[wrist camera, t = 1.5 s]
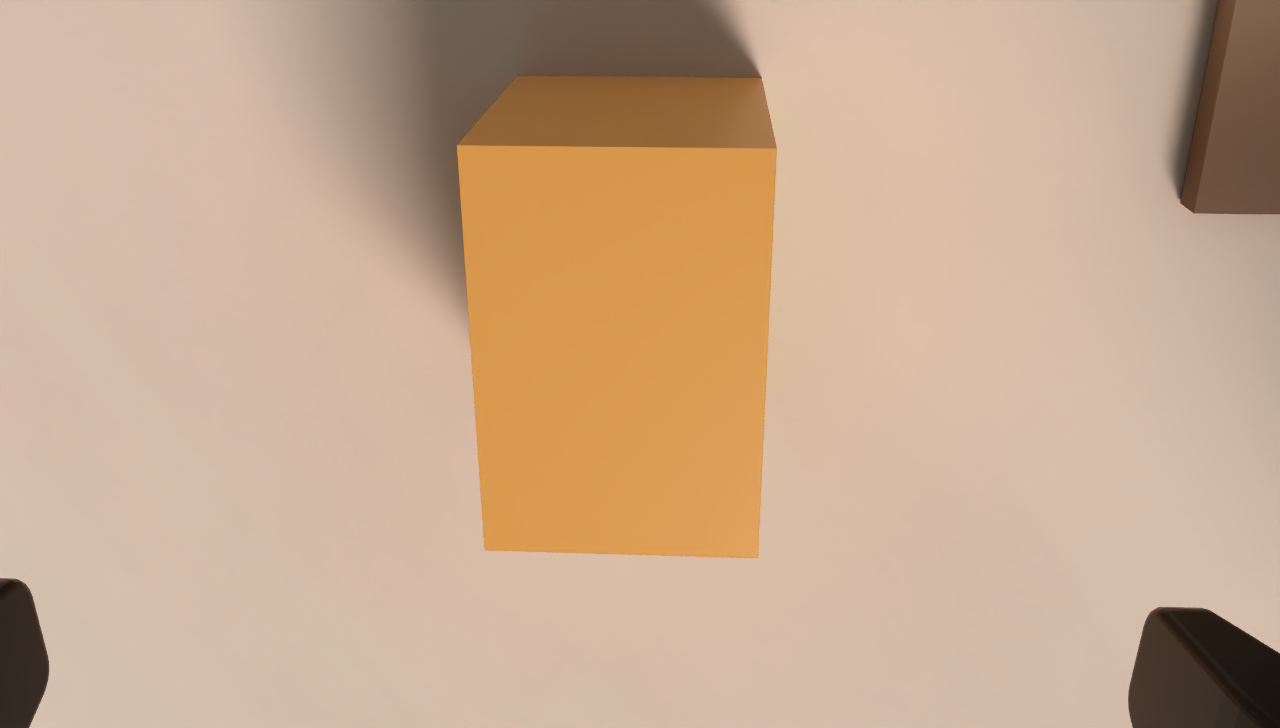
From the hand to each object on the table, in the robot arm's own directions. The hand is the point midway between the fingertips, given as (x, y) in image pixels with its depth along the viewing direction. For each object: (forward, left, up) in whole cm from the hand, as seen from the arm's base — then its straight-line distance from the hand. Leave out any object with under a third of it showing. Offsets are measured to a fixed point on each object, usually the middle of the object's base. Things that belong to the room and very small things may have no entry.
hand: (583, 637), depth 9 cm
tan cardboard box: (-1, 0, -12) cm, 12 cm away
